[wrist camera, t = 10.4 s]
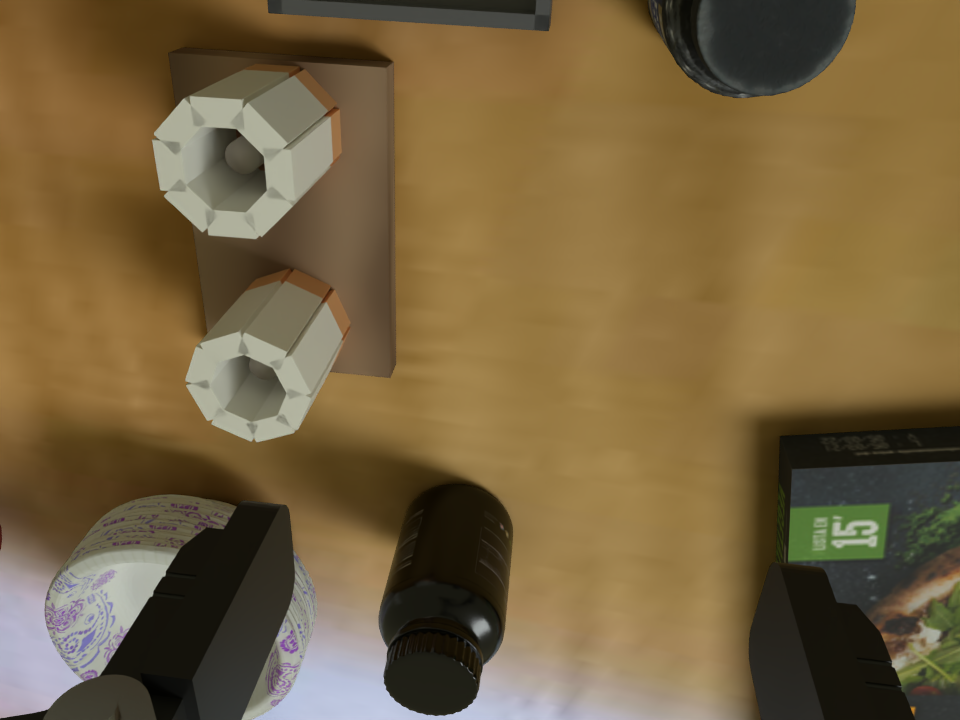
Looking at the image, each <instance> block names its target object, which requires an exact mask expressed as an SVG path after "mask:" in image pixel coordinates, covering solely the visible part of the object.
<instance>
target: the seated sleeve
mask: <svg viewBox="0 0 960 720" xmlns="http://www.w3.org/2000/svg"><path fill="white" fill-rule="evenodd" d="M330 287H331V286H330V285H328V284H326V283H324V282H322V281H320V280H318V279H315V278H313V277H311V276H309V275H307V274H305V273H303V272H300V271H298V270H296V269H294V270H293V272H291V270H290V269H286V270H283V271H280V272H277V273H274V274H270V275H267V276H264V277H261V278H258V279H256V280H255V281H254V282H252V283H251V285H250V286H249V287H248V288H247V289H246V290H245V291H244V293H243V294H242V295H241V296H240V297H239V298H238V299H237V301H236V302H235V303H234V304H233V305H232V306H231V307H230V309H229V310H228V311H227V312H226V313H225V314H224V315H223V316H222V318H221V319H220V320H219V321H218V322H217V323H216V324H215V326H214V327H213V328H212V329H211V330H210V331H209V332H208V334H207V335H206V336H205V337H204V338H203V339H202V340H201V342H200V343H199V344H198V345H197V346H196V348H195V352H194V355H193V358H192V361H191V364H190V367H189V370H188V373H187V376H186V379H185V381H187V382H188V384H187V385H186V386H187V388H188V390H189V391H190V393H191V395H192V396H193V398H194V400H195V401H196V403H197V405H198V406H199V408H200V410H201V411H202V413H203V415H204V416H205V418H206V420H207V421H208V420H212V419H213V421H212V425H214V426H216V427H218V428H221V429H223V430H225V431H228V432H230V433H232V434H235V435H237V436H239V437H241V438H244V439H246V440H248V441H251V442H252V440H253V439H254V438H255V440H256V442H261V441H265V440H269V439H273V438H277V437H281V436H285V435H288V434H292V433H294V432H295V430H298V429H299V427H300V425H301V423H302V421H303V420H304V418H305V416H306V414H307V412H308V410H309V409H310V407H311V405H312V403H313V401H314V399H315V398H316V396H317V394H318V392H319V390H320V388H321V387H322V385H323V383H324V381H325V379H326V377H327V376H328V374H329V372H330V370H331V368H332V366H333V365H334V363H335V361H336V359H337V357H338V355H339V353H340V351H341V348H342V346H343V344H344V342H345V339H346V337H347V335H348V332H349V330H350V328H351V327H349V325H350V321H349V318H348V316H347V314H346V312H345V310H344V308H343V306H342V304H341V302H340V299H339V297H338V295H337V293H336V291H335V289H334V290H331V291H329V290H330ZM251 358H252V359H254V360H256V361H259V362H261V363H263V364H265V365H267V366H270V367H272V368H273V369H274V371H275V373H276V376H275V377H274V378H272V379H270V380H262V379H259V378H257V377H256V376H255V375H253V373H252V372H251V371H250V368H249V361H250V359H251Z"/></svg>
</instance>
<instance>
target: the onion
mask: <svg viewBox="0 0 960 720" xmlns="http://www.w3.org/2000/svg"><path fill="white" fill-rule="evenodd" d="M1 543H2V530H1V525H0V549H1Z"/></svg>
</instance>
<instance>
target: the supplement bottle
mask: <svg viewBox="0 0 960 720" xmlns="http://www.w3.org/2000/svg"><path fill="white" fill-rule="evenodd" d="M512 543H513V527H512V522H511V519H510V516H509V514H508V512H507V511H506V509H505V508H504V507H503V505H502V504H501V503H500V502H499V501H498V500H497V499H496V498H494V497H493V496H492V495H490V494H489V493H487V492H485V491H483V490H481V489H478V488H476V487H472V486H468V485H462V484H447V485H441V486H437V487H434V488H431V489H429V490H427V491H425V492H423V493H422V494H420V495H419V496H418V497H417V498H416V499H415V500H414V501H413V502H412V503H411V505H410V506H409V508H408V510H407V512H406V515H405V518H404V521H403V524H402V528H401V532H400V535H399V539H398V543H397V547H396V550H395V554H394V558H393V561H392V565H391V569H390V573H389V576H388V580H387V584H386V587H385V591H384V595H383V599H382V602H381V606H380V611H379V629H380V632H381V636H382V638H383V640H384V642H385V644H386V646H387V647H388V651H387V662H386V666H385V671H384V684H385V686H386V690H387V691H388V692H389V693H390V696H391V697H393V698H394V700H395V701H396V702H398V703H400V704H401V705H402V706H404V707H407V708H408V709H409V710H412V711H416V712H417V713H423V714H426V715H434V716H438V715H444V716H445V715H447V714H454V713H455V712H460V711H462V709H465V708H467V707H468V705H470V704H472V703H473V700H474V699H475V698H476V696H477V693H478V690H479V684H480V676H481V673H482V669H483V665H485V664H486V663H487V662H488V661H490V659H491V658H492V657H493V656H494V655H495V654H496V652H497V651H498V649H499V648H500V646H501V643H502V641H503V637H504V631H505V622H506V611H507V600H508V589H509V578H510V567H511V555H512Z"/></svg>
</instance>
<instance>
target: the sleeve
mask: <svg viewBox="0 0 960 720" xmlns="http://www.w3.org/2000/svg"><path fill="white" fill-rule="evenodd" d="M336 104H337V103H336V102H335V101H334V99H333V98H332V97H331V96H330V95H329V94H328V93H327V92H326V91H325V90H324V89H323V88H322V87H321V86H320V85H319V84H318V82H317V81H316V80H315V79H314V78H313V77H312V76H311V75H310V74H309V73H308V72H307V71H306V70H305V69H304V70H302V71H301V72H300V67H299V66H285V65H269V64H254V65H252V66H249V67H247V68H245V69H243V70H241V71H239V72H237V73H235V74H233V75H231V76H229V77H227V78H225V79H223V80H221V81H218V82H216V83H214V84H212V85H210V86H208V87H206V88H204V89H202V90H200V91H198V92H196V93H194V94H192V95H190V96H188V97H186V98H184V99H183V100H182V101H181V102H180V103H179V105H178V106H177V107H176V108H175V109H174V110H173V112H172V113H171V114H170V115H169V116H168V118H167V119H166V120H165V121H164V122H163V123H162V125H161V126H160V127H159V128H158V129H157V130H156V132H155V133H154V135H155V136H156V137H157V138H155V139H153V140H152V142H153V149H154V155H155V161H156V167H157V173H158V179H159V185H160V190H162V191H168V192H167V193H166V194H165V195H164V197H165V198H166V199H167V200H168V201H169V202H170V203H171V204H172V205H174V206H175V207H176V208H177V209H178V210H179V211H180V212H181V213H182V214H183V215H184V216H185V217H186V218H187V219H189V220H190V221H191V222H192V223H193V224H194V225H195V226H196V227H197V228H198V229H199V230H200V231H201V232H202V233H203V232H204V231H205V230H206V229H207V228H208V235H211V236H224V237H236V238H249V239H257V238H258V237H259V236H261V237H262V236H263V235H264V234H265V233H266V232H267V231H268V230H270V229H271V228H272V227H273V226H274V225H275V224H276V223H277V222H278V221H279V220H280V219H281V218H282V217H283V216H284V215H285V214H286V213H287V212H288V211H289V210H290V209H291V208H292V207H293V206H294V205H295V204H296V203H297V202H298V201H299V200H300V199H301V197H302V196H303V195H304V194H305V193H306V192H307V191H308V190H309V189H310V188H311V187H312V186H313V185H314V184H315V183H316V182H317V181H318V180H319V179H320V178H321V177H322V176H323V175H324V174H325V173H326V172H327V171H328V170H329V168H330V167H331V166H332V165H333V164H334V163H335V162H336V161H337V160H338V159H339V158H340V157H339V155H340V154H341V153H342V147H341V126H340V109H333V108H334V107H335V105H336ZM242 135H243V136H244V137H245V138H246V139H247V140H248V141H249V142H250V143H251V144H252V145H253V146H254V147H255V148H256V149H257V150H258V151H259V152H260V153H261V154H262V155H263V156H264V163H263V164H262V165H261V166H259V167H258V168H257V169H256V170H254V171H253V172H252V173H250V174H240V173H237V172H235V171H234V170H232V169H231V168H230V166H229V165H228V163H227V161H226V158H225V151H226V148H227V146H228V145H229V144H230V143H231V142H233V141H234V140H236V139H237V138H239V137H240V136H242Z"/></svg>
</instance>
